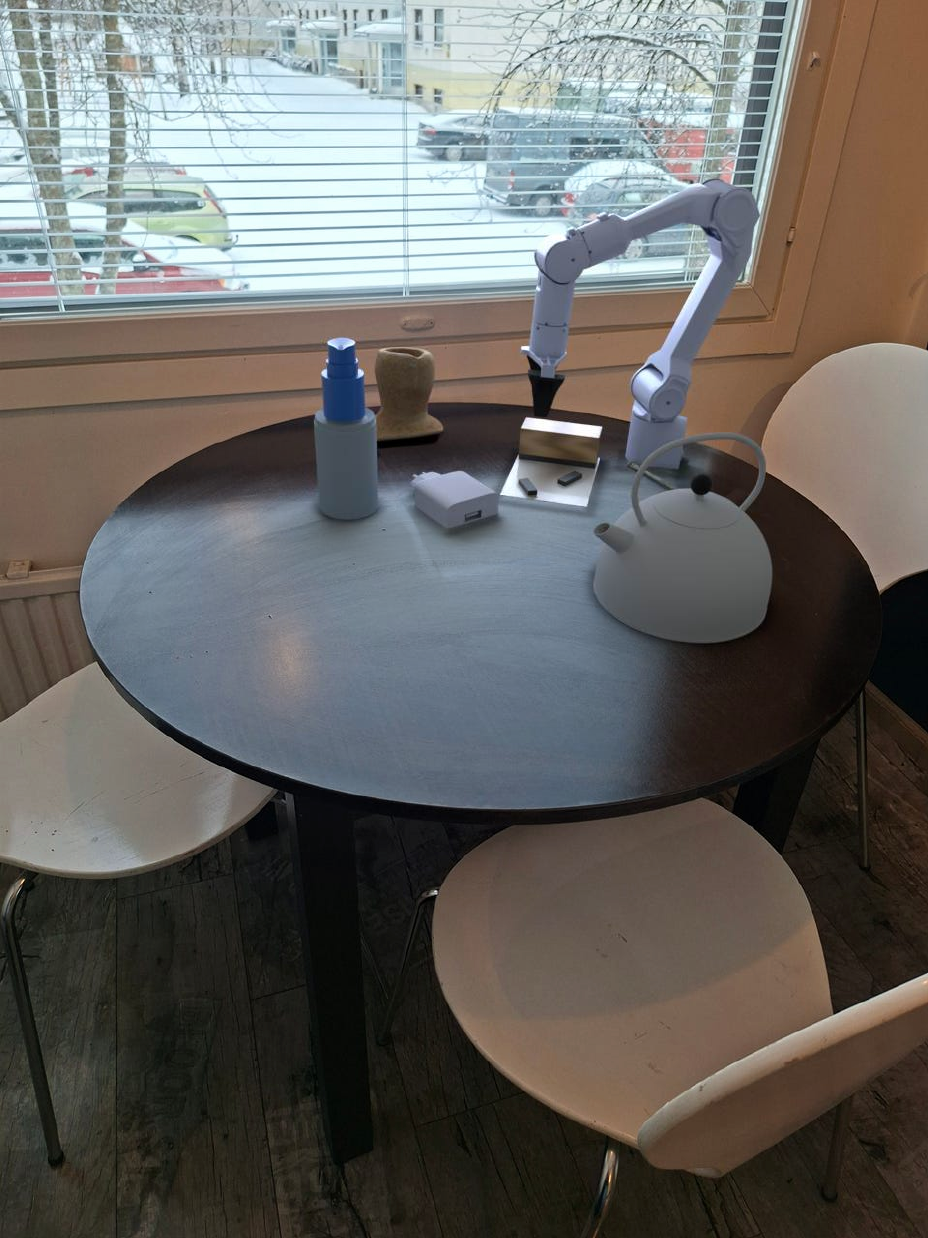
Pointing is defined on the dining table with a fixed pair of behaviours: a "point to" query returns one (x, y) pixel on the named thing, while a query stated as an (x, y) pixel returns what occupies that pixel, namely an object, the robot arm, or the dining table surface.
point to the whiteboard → (550, 482)
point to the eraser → (560, 442)
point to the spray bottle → (345, 438)
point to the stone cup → (404, 393)
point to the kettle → (686, 560)
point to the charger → (454, 498)
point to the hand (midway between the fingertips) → (539, 407)
